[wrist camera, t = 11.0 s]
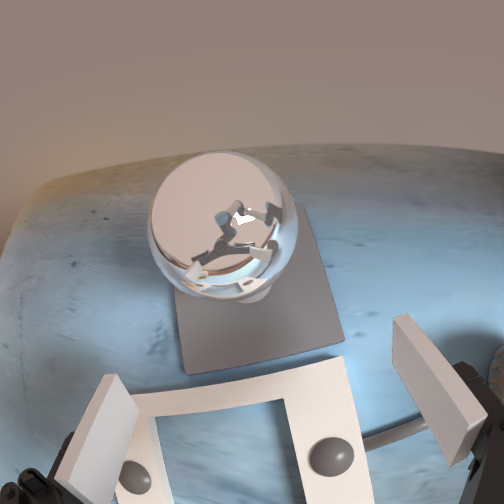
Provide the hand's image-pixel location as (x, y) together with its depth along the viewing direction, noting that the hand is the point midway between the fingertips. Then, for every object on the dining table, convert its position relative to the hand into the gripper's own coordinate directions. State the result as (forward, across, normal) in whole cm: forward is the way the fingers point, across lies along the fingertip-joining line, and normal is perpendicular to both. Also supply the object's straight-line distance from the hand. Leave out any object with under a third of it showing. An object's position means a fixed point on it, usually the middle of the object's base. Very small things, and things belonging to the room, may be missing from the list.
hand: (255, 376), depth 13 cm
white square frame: (+1, 0, +10) cm, 10 cm away
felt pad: (+10, 0, 0) cm, 10 cm away
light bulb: (+10, 0, 0) cm, 10 cm away
